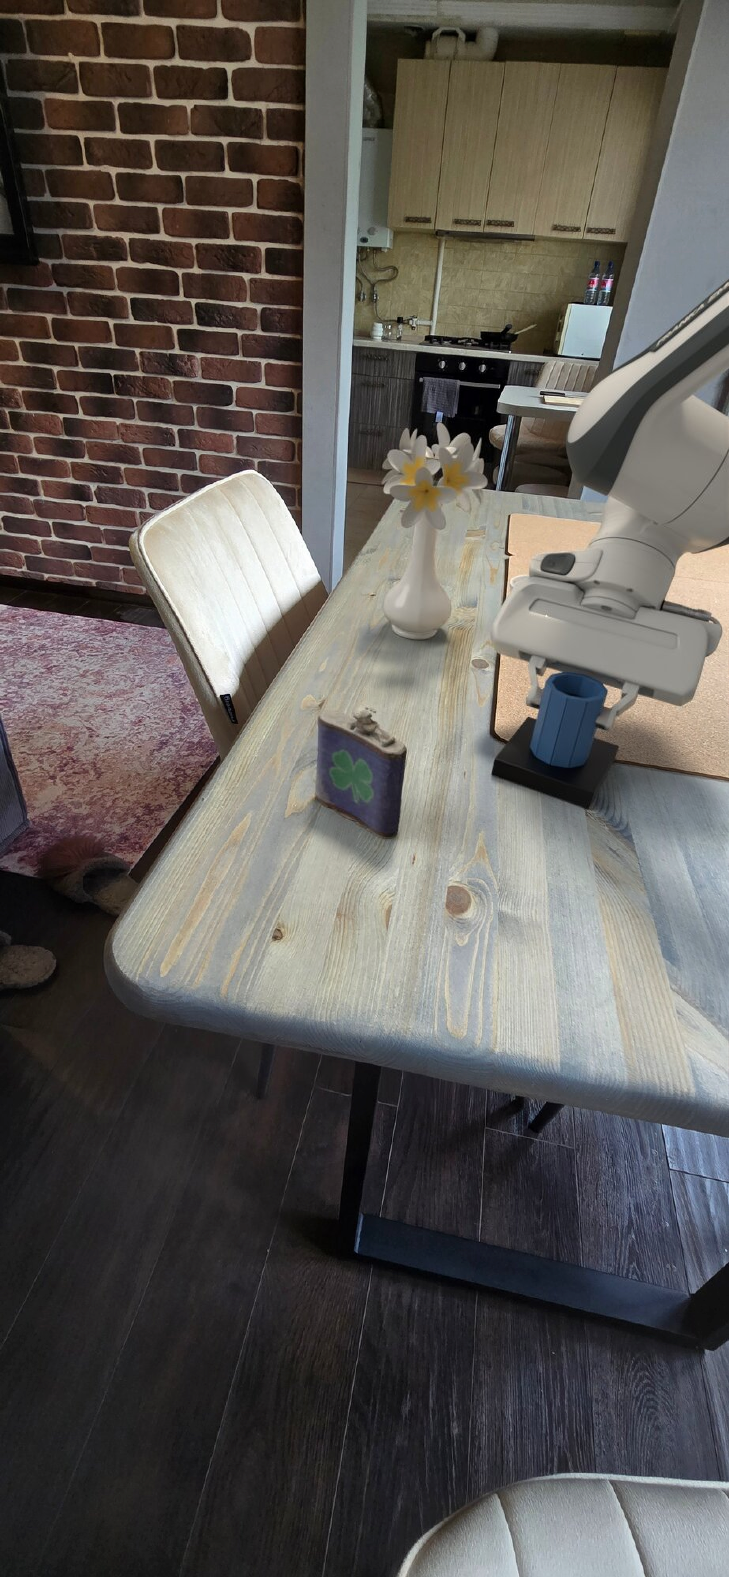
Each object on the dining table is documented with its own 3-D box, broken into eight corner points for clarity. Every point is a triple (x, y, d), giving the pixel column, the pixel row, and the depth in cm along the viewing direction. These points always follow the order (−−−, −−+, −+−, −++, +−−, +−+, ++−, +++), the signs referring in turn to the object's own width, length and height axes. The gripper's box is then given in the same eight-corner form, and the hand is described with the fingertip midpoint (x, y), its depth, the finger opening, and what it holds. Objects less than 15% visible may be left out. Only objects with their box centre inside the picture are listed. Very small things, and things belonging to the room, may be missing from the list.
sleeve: (593, 747, 75) (613, 682, 71) (577, 774, 71) (597, 707, 67) (541, 730, 77) (557, 666, 73) (523, 756, 73) (538, 689, 69)
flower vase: (369, 660, 92) (386, 445, 78) (369, 603, 107) (384, 413, 92) (472, 667, 93) (509, 454, 78) (458, 609, 108) (487, 421, 93)
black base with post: (614, 761, 77) (636, 694, 72) (588, 809, 70) (611, 738, 65) (524, 731, 81) (539, 666, 76) (490, 775, 74) (505, 705, 69)
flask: (309, 798, 68) (312, 696, 62) (330, 785, 70) (336, 685, 64) (386, 843, 64) (399, 739, 58) (407, 828, 66) (421, 726, 60)
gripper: (723, 631, 72) (673, 760, 70) (524, 581, 79) (475, 697, 78) (734, 601, 66) (679, 741, 65) (518, 550, 73) (465, 675, 72)
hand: (566, 716), depth 71 cm, fingers closed on sleeve, 5 cm apart
